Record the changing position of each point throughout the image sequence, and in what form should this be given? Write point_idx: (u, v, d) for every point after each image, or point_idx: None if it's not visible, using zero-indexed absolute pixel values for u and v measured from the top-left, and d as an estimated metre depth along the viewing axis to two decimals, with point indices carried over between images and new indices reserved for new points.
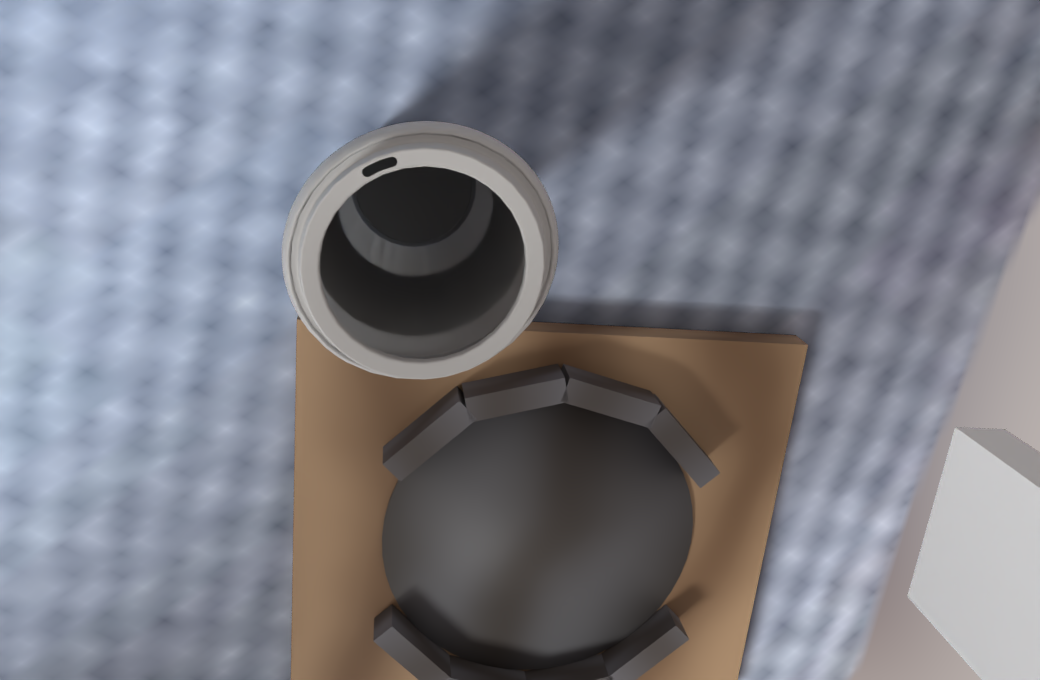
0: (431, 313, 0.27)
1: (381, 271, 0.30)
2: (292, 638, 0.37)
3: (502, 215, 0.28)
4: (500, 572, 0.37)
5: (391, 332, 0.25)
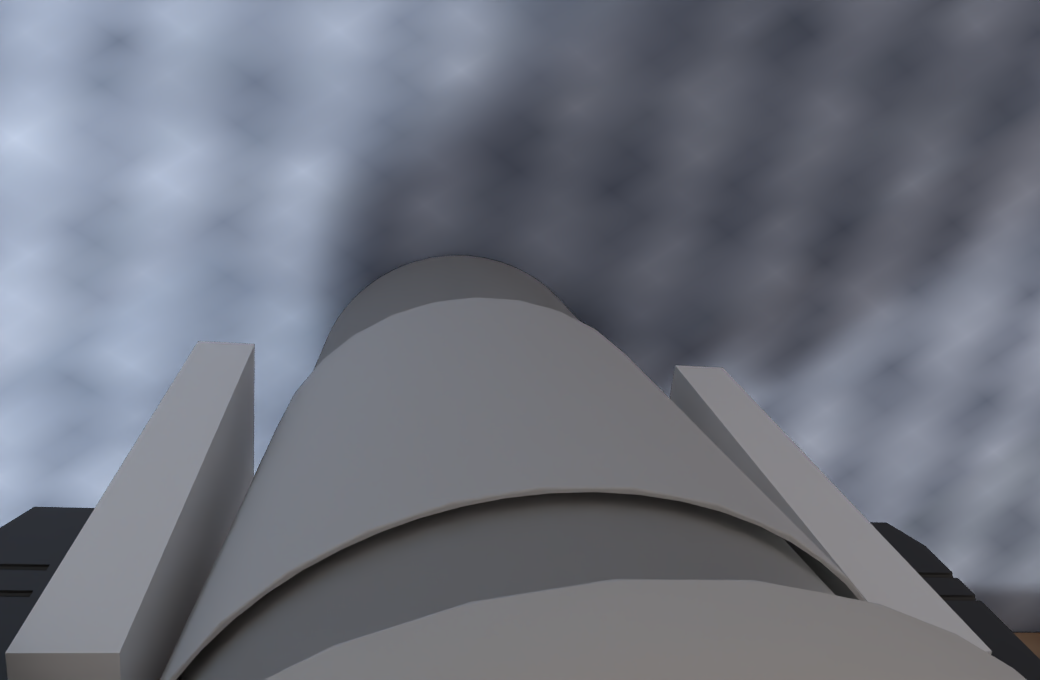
0: None
1: None
2: None
3: None
4: None
5: None
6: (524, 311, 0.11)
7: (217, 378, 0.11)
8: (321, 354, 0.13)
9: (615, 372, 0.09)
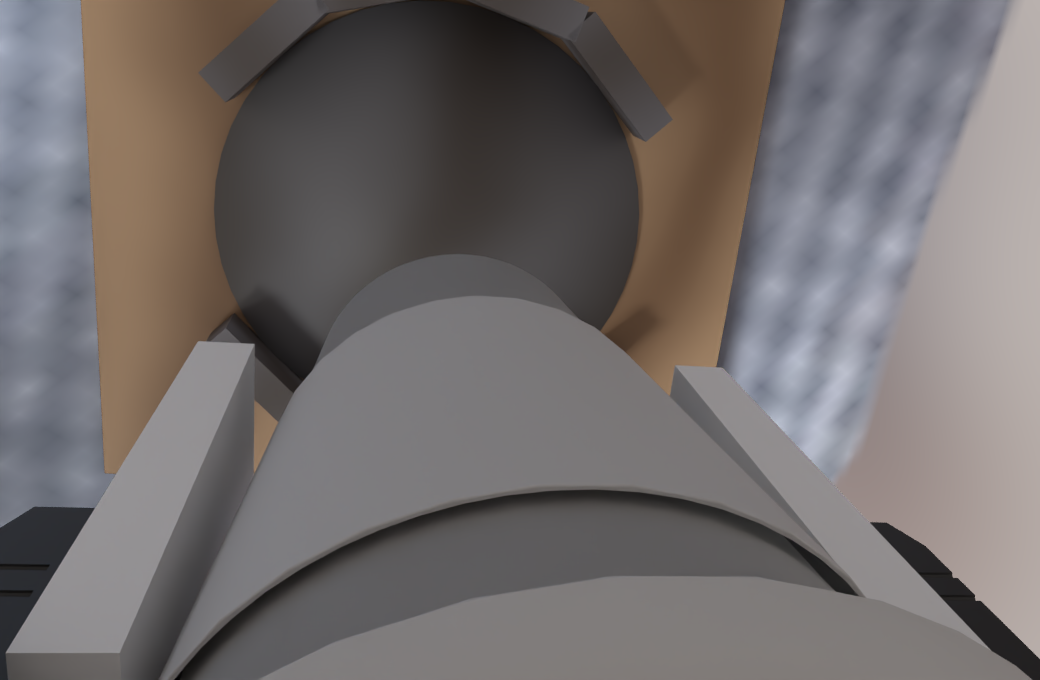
0: None
1: None
2: (100, 357, 0.28)
3: None
4: (379, 271, 0.28)
5: None
6: (524, 309, 0.11)
7: (217, 378, 0.11)
8: (321, 353, 0.13)
9: (615, 370, 0.09)
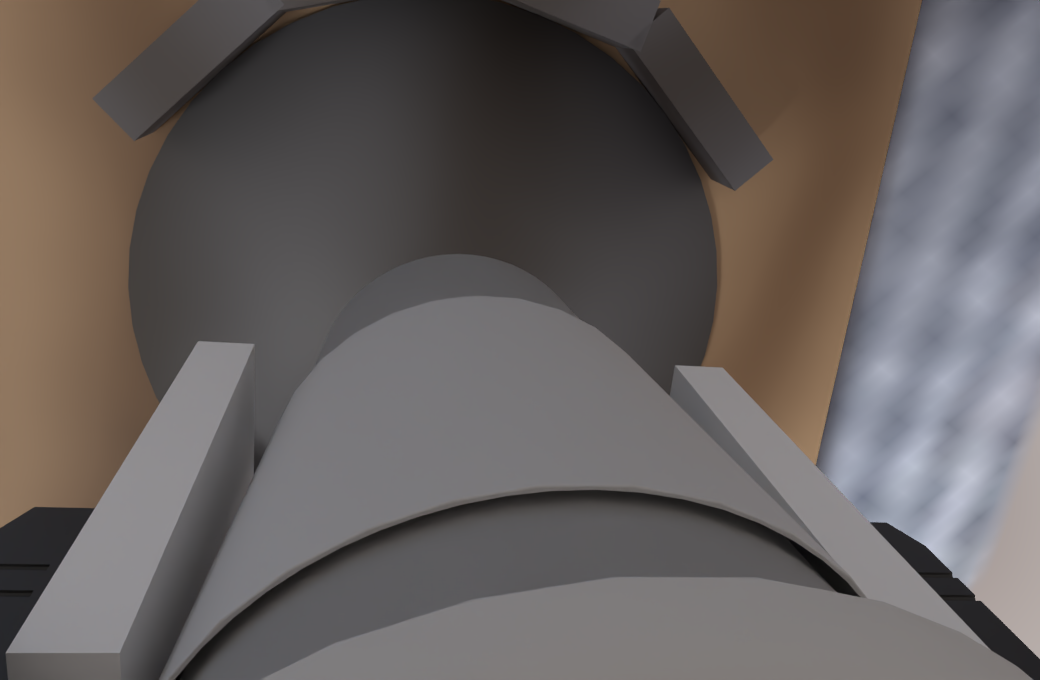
0: None
1: None
2: None
3: None
4: None
5: None
6: (524, 309, 0.11)
7: (217, 378, 0.11)
8: (321, 353, 0.13)
9: (616, 370, 0.09)
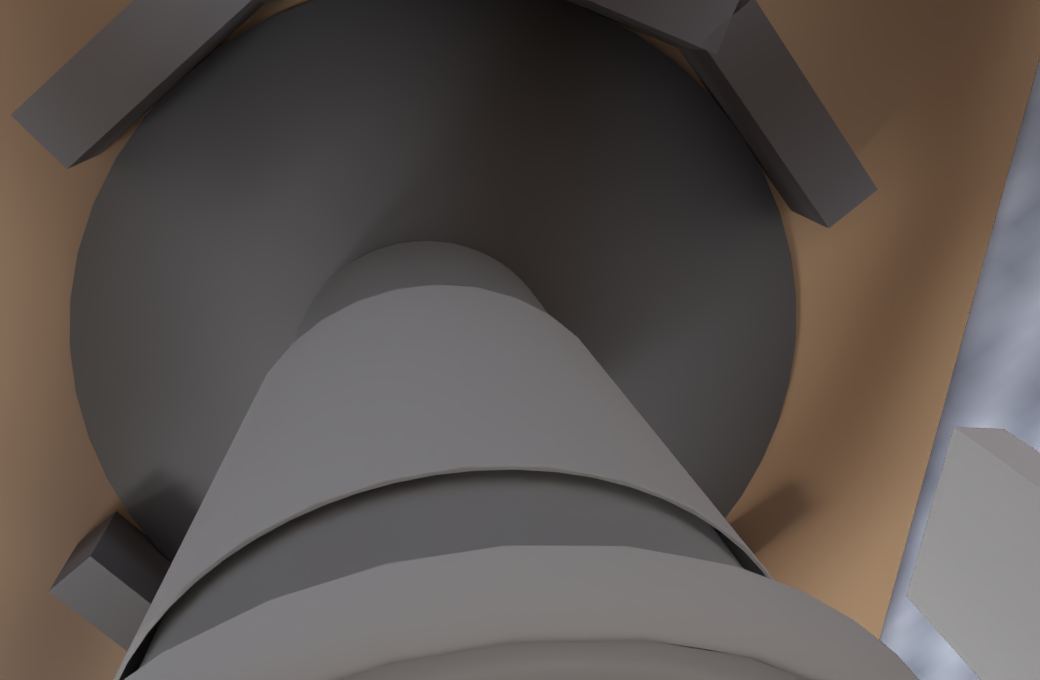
0: None
1: None
2: None
3: None
4: None
5: None
6: (480, 298, 0.11)
7: None
8: (295, 335, 0.14)
9: (558, 357, 0.10)
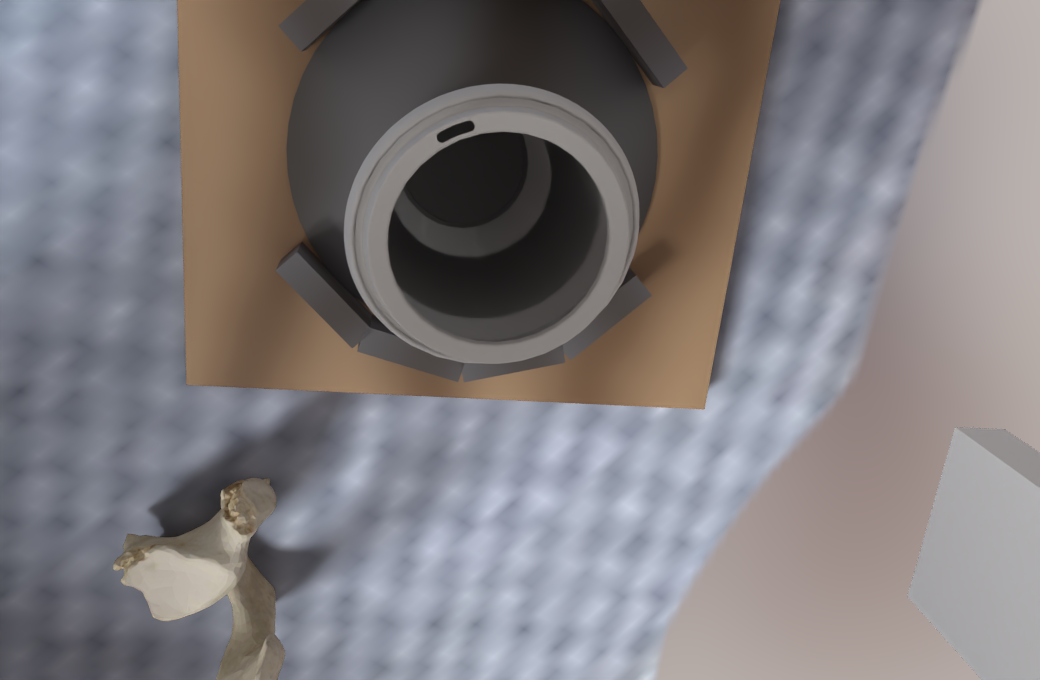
0: (492, 295, 0.25)
1: (433, 252, 0.28)
2: (185, 280, 0.32)
3: (565, 191, 0.27)
4: None
5: (453, 314, 0.24)
6: None
7: None
8: None
9: None
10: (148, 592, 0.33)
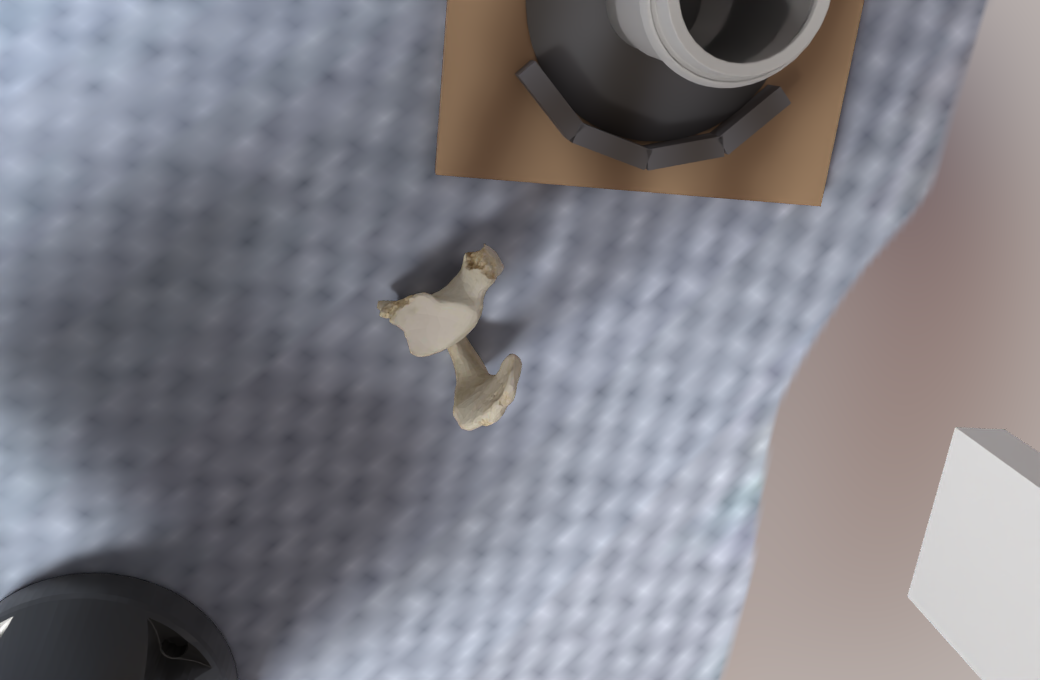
0: None
1: None
2: (442, 89, 0.42)
3: None
4: None
5: None
6: None
7: None
8: None
9: None
10: (408, 332, 0.43)
